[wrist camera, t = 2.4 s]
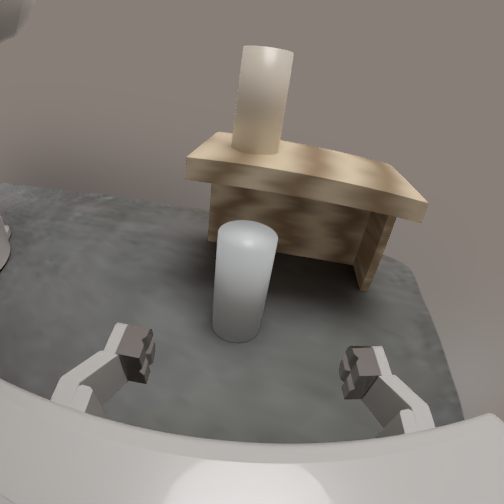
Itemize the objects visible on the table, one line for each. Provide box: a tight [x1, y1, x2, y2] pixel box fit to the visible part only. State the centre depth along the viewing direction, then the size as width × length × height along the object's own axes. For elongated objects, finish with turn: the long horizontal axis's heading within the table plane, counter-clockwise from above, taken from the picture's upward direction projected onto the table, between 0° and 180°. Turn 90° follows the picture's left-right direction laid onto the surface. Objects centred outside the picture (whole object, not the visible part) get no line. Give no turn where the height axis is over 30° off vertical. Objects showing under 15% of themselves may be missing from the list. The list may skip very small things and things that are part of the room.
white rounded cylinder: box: [231, 46, 294, 155], centre depth 26 cm, size 5×5×10 cm
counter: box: [185, 132, 429, 292], centre depth 32 cm, size 21×12×14 cm, turn 84°
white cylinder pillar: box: [212, 220, 278, 343], centre depth 26 cm, size 5×5×10 cm
